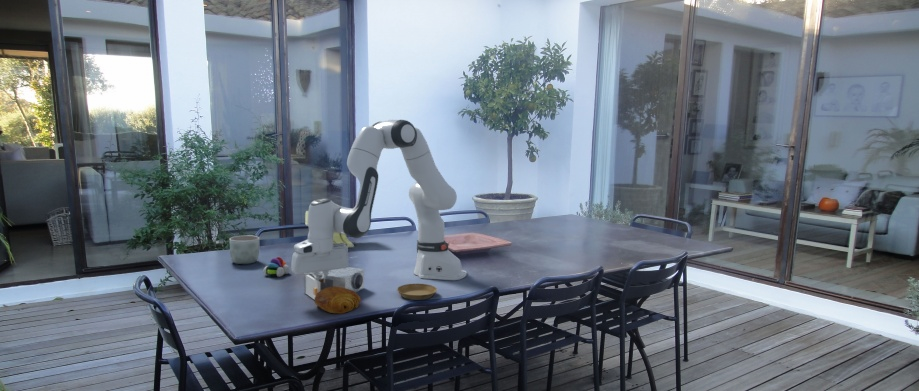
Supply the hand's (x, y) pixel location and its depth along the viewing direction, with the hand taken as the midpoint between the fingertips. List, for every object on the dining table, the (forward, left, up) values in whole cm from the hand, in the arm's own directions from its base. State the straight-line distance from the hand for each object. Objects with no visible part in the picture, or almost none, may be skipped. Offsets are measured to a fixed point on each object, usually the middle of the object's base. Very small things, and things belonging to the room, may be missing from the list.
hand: (320, 283), depth 196 cm
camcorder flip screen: (+3, +1, -5) cm, 6 cm away
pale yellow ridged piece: (+42, -82, -6) cm, 92 cm away
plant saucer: (-30, -18, -6) cm, 35 cm away
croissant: (-11, +6, -6) cm, 13 cm away
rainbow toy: (+34, -20, -6) cm, 40 cm away
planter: (+59, -32, -6) cm, 67 cm away
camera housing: (0, -11, -6) cm, 12 cm away
